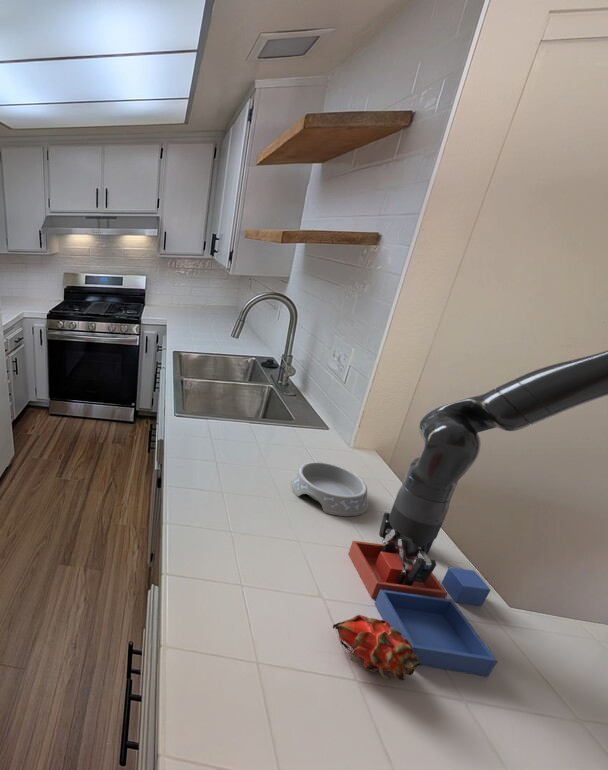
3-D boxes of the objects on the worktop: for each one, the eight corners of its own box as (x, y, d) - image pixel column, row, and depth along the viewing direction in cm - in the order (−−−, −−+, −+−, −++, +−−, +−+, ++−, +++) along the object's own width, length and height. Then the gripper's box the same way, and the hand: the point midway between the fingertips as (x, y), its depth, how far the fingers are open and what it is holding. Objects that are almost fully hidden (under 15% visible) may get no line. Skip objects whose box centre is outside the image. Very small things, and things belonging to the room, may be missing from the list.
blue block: (466, 586, 79) (474, 570, 77) (481, 606, 75) (491, 589, 73) (441, 583, 80) (448, 567, 78) (455, 602, 75) (464, 586, 74)
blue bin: (444, 614, 73) (452, 599, 72) (488, 676, 63) (498, 661, 62) (374, 603, 75) (379, 589, 74) (405, 662, 65) (412, 647, 64)
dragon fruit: (415, 695, 62) (330, 655, 70) (420, 639, 65) (338, 606, 73) (421, 693, 56) (327, 649, 64) (426, 631, 60) (336, 597, 67)
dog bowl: (312, 467, 117) (316, 452, 115) (379, 501, 103) (385, 484, 101) (278, 486, 109) (282, 471, 107) (346, 526, 95) (351, 508, 92)
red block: (397, 570, 82) (404, 554, 80) (409, 588, 78) (416, 572, 76) (374, 567, 83) (380, 551, 81) (384, 584, 79) (391, 568, 77)
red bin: (408, 561, 85) (414, 548, 83) (440, 608, 74) (447, 593, 73) (348, 554, 87) (352, 540, 85) (371, 597, 76) (376, 583, 75)
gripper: (467, 539, 66) (435, 607, 73) (419, 488, 79) (395, 549, 86) (418, 534, 68) (391, 601, 74) (378, 484, 81) (358, 544, 87)
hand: (393, 573), depth 80 cm, fingers open, 6 cm apart
